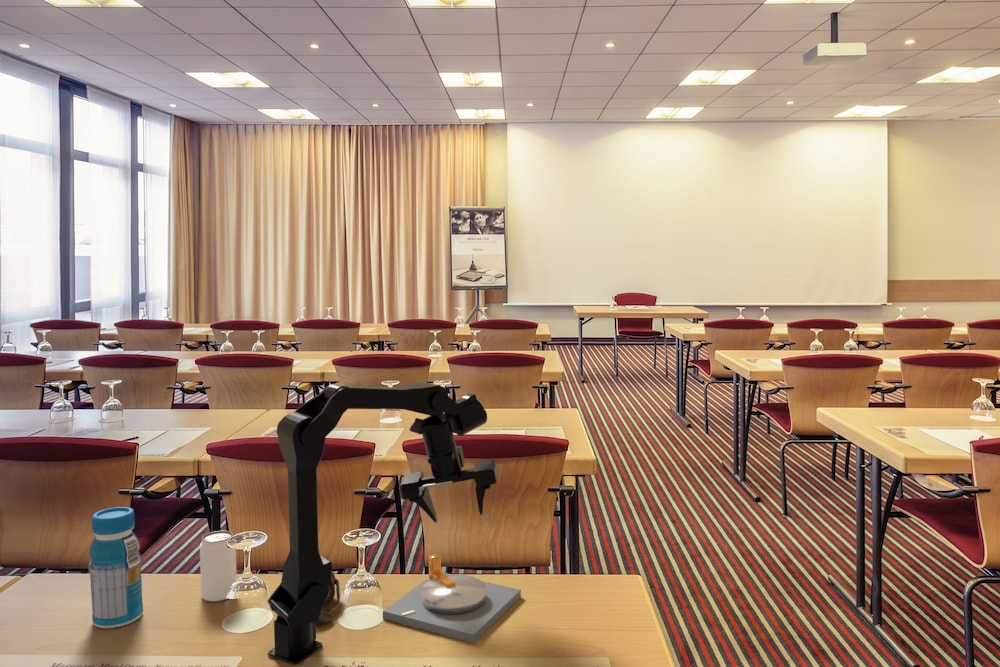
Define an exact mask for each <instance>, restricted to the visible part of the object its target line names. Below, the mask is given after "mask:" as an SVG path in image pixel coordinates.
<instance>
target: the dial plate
mask: <svg viewBox="0 0 1000 667" xmlns="http://www.w3.org/2000/svg"><path fill="white" fill-rule="evenodd" d="M441 572H442V571H441ZM442 573H444V574H445V575H453V574H451V573H445V572H442ZM428 581H429V577H428V578H426V579H425V580H424V581H422V582H421V583H419V584H418V585H416V586H415V587H413V588H412V589H411V590H410V591H408V592H407V593H406V594H404V595H403V596H401V597H400V598H398V599H397V600H396V601H395V602H393V603H392V604H390V605H389V606H388V607H386V608H385V609H383V610H382V620H385V621H389V622H393V623H397V624H399V625H404V626H408V627H412V628H415V629H419V630H424V631H427V632H430V633H434V634H438V635H442V636H444V637H445V636H446V637H449V638H453V639H456V640H460V641H464V642H467V643H472V644H475V643H476V642H477V641H478V640H479V639H480V637H482V636H483V635H484V634H485V633H487V631H488V630H489V629H490V628H491V627H492V626H493V625H494V624H495V623H496V622H498V620H499V619H500V618H501V617H502V616H503V615H505V613H506V612H507V611H508V610H509V609H510V608H511V607H513V605H515V604H516V603H517V602H518V600H519V599H520V598H521V597H522V590H521V589H519V588H514V587H509V586H506V585H502V584H501V585H500V584H496V583H492V582H487V581H482V580H481V581H482V582H483V583H484V584H485V587H486V600H485V602H484V603H483V605H481V606H480V607H479V608H477V609H475V610H472V611H469V612H465V613H459V614H444V613H438V612H435V611H432V610H430V609H428V608H426V607H425V606H424V605H423V603H422V587H423V585H424V584H425V583H426V582H428Z"/></svg>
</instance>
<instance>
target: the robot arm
mask: <svg viewBox="0 0 1000 667" xmlns="http://www.w3.org/2000/svg"><path fill="white" fill-rule="evenodd" d="M349 409H355V410H357V409H359V410H360V409H361V410H362V409H363V410H364V409H367V410H370V409H371V410H406V411H410V412H414V413H418V414H421V415H426V416H427V417H425V418H419V417H415V419H414V421H413V423H412V425H411V426H410V427H409V432H411V433H413V434H414V433H415V434H416V435H422V440H423V444H424V447H425V448H424V449H425V452H426V455H427V462H428V464H429V466H430V469H431V474H432V475H430V476H425V474H424V472H423V471H421V470H420V471H415V472H409V473H405V474H404V476H403V477H402V480H401V482H400V484H399V495H400V498H401V499H402V500H408V501H409V503H415V505H417V506H418V507H420V508H421V509H422V510H423V511H424V512H425V513H426V515H427V516H428V517H429V518H430V519H431V520H432V521H433V522H434V523H437V522H438V517H437V512H436V509H435V506H434V503H433V501H432V498H431V495H430V490H429V488H430V487H435V486H441V485H442V486H443V485H447V484H453V483H458V482H465V481H469V480H474V482H475V483H474V484H475V494H476V501H477V508H478V512H479V514H480V515H483V514H484V502H485V494H486V491H487V490H489V489H491V488H492V485H495V484H496V483H497V482H498V475H499V468H498V464H497V462H496V460H494V459H493V458H490V459H484V460H478V461H475V463H474V467H473V468H469V469H464V470H463V469H462V468H464V464H465V463H464V462H465V455H464V451H463V446H462V445H459V446H457V443H456V440H455V436H454V434H456V435H457V436H460V437H462V436H464V435H466V434H468V433H470V432H472V431H474V430H475V429H477V428H480V427H482V426H483V425H485V424H487V420H488V413H487V410H486V409H485V407H484V406H483V404H482V403H481V402H480V401H479V399H477V395H476V394H473V393H470V392H469V393H467V394H465V395H463V396H462V397H461V398H459V399H457V400H454V399H453V398H451V397H450V395H449V393H448V391H447V389H446V387H444V386H442V385H437V384H433V383H429V382H424V381H418V382H413V383H406V384H403V385H400V386H396V387H395V386H393V387H392V386H370V385H369V386H367V385H342V384H339V383H331V384H329V385H327V386H326V387H325V388H323V389H322V391H320V392H319V393H318V394H317V395H316V396H314V397H312V398H310V399H309V400H307V401H306V402H304V403H302V404H301V405H300V406H299V407H297V408H296V409H295V410H294V411H293V412H289V413H287V414H286V415H285V416H283V417H282V418H281V420H279V422H278V423H277V426H276V436H277V440H278V441H277V442H278V446H279V450H280V454H282V455H281V456H282V457H283V459H284V462H285V466H286V469H287V483H288V484H287V489H288V492H287V493H288V517H289V518H288V520H289V521H288V524H289V527H288V528H289V553H288V555H287V557H286V560H285V561H284V564H283V569H282V575H281V581H280V583H279V585H278V586H277V588H276V589H275V590H274V591H273V592H272V594H271V595H270V596H269V597H268V599H267V604H268V605H269V607H270V610H271V611H272V612H274V613H275V614H276V619H275V620H273V631H274V632H273V634H274V636H273V637H274V638H273V639H274V640H273V642H274V647H273V648H271V649H270V650H268V651H267V655H268V656H269V657H272V658H275V659H278V660H281V661H284V662H287V663H290V664H293V665H297V664H300V663H301V662H303V661H304V660H305V659H307V658H308V657H310V656H311V655H312V654H314V653H315V652H316V651H318V650H319V649H320V648H322V647H323V642H321V641H317V640H316V639H317V625H316V621H318V619H319V616H320V612H321V609H323V607H324V606H323V602H324V601H325V599H327V598H328V595H329V589H330V588H329V586H333V583H332V581H331V571H333V570H332V569H333V566H332V565H333V564H332V561H330V560H329V559H328V558H326V557H325V556H323V555H321V554H320V551H319V512H318V474H317V473H318V466H319V464H320V462H321V460H322V457H323V456H324V451H325V444H326V438H327V436H328V435H329V434H330V433H331V432H332V431H333V430H335V428H336V427H337V425H338V424H339V422H340V420H341V418H342V417H343V416H344V414H345V412H347V410H349Z"/></svg>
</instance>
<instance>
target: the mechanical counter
mask: <svg viewBox="0 0 1000 667" xmlns="http://www.w3.org/2000/svg"><path fill="white" fill-rule="evenodd" d="M331 581H332V583H333V586H329V588H330V589H329V595H328V598H327V599H325V601H324V602H323V606H322V607H325V606H327V605H328V604H330V603H331V602H332V601H333V600H334V598H335V596H336V603H335V604H333V605H332V606H331V607H328V608H322V609H321V612H320V616H319V619H318V621H316V626H322V625H323V626H324V625H325V624H329V623H330V622H332V621H333V620H334V616H333V614H332V612H334V611H335V610H336V609H337V608H338V607H339V605H340V601H341V592H340V591H341V590H340V580H339V579H337V578H336V575H335V573H334V571H333V570H332V571H331Z"/></svg>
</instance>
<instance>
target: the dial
mask: <svg viewBox="0 0 1000 667" xmlns="http://www.w3.org/2000/svg"><path fill="white" fill-rule="evenodd" d="M444 573H445V572H443V573H442V555H441V554H439V553H432V554H429V555H428V578H429V581H428V582H426V583H425V584H424V585H423V587H422V603H423V605H424V606H425V607H426V608H428V609H430V610H432V611H435V612H438V613H444V614H459V613H465V612H469V611H472V610H475V609H477V608H479V607H480V606H481V605H483V603H484V602H485V600H486V587H485V584H484V583H483V582H484V581H483V582H482V580H480V578H477V577H475V576H471V575H467V574H452V575H445V574H444Z"/></svg>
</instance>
